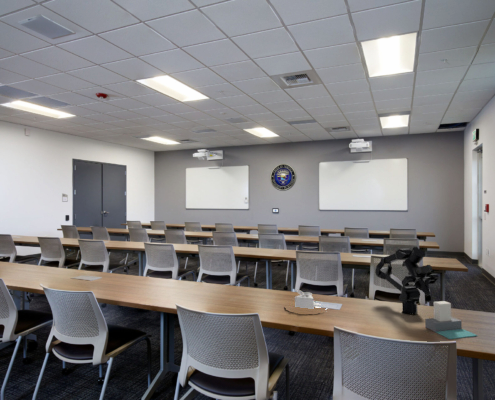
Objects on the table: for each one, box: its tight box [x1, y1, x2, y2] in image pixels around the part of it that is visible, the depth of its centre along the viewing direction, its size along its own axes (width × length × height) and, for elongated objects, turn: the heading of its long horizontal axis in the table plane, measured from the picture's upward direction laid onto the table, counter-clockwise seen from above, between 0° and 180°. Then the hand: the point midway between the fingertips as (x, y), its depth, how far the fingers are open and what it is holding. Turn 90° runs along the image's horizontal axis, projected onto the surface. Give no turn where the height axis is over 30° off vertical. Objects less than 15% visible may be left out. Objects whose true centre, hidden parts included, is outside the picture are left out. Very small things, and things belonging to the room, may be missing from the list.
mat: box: [435, 328, 478, 340], centre depth 152 cm, size 8×14×1 cm, turn 101°
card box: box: [433, 300, 452, 322], centre depth 160 cm, size 4×6×8 cm, turn 101°
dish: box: [294, 289, 329, 310], centre depth 197 cm, size 25×25×11 cm
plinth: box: [424, 316, 463, 333], centre depth 160 cm, size 6×14×4 cm, turn 101°
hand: (429, 294), depth 169 cm, fingers closed
